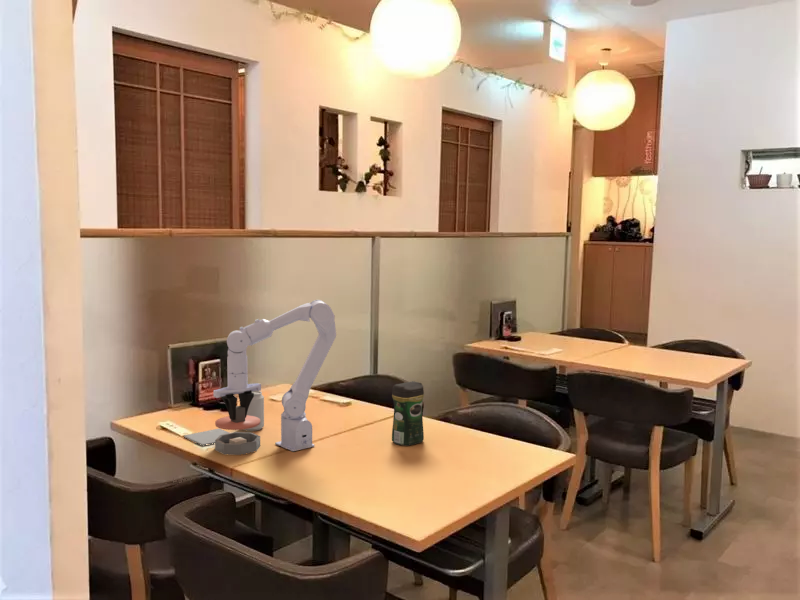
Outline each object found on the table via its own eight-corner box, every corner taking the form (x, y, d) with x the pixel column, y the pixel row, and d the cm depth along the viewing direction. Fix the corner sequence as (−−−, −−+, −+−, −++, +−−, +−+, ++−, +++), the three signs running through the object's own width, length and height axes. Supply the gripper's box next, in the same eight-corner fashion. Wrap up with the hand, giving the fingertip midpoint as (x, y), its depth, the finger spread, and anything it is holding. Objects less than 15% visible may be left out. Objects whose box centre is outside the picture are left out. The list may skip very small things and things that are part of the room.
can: (251, 433, 219) (250, 395, 218) (235, 428, 224) (235, 392, 222) (268, 428, 225) (268, 391, 224) (253, 424, 229) (253, 388, 228)
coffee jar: (410, 436, 219) (411, 378, 217) (427, 442, 213) (428, 382, 211) (386, 442, 212) (387, 382, 210) (404, 448, 206) (405, 386, 205)
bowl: (266, 448, 204) (266, 438, 203) (230, 457, 195) (230, 447, 195) (245, 439, 212) (245, 429, 212) (209, 447, 204) (209, 437, 204)
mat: (238, 438, 213) (238, 436, 213) (202, 446, 205) (202, 444, 205) (219, 430, 222) (219, 428, 222) (183, 437, 213) (183, 435, 213)
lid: (268, 424, 203) (268, 408, 202) (229, 432, 194) (229, 415, 194) (245, 415, 212) (245, 400, 212) (207, 422, 203) (207, 406, 203)
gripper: (252, 367, 210) (252, 411, 211) (207, 373, 200) (208, 419, 201) (264, 370, 204) (265, 415, 206) (220, 377, 194) (220, 424, 196)
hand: (238, 418), depth 203 cm, fingers closed on lid, 3 cm apart
